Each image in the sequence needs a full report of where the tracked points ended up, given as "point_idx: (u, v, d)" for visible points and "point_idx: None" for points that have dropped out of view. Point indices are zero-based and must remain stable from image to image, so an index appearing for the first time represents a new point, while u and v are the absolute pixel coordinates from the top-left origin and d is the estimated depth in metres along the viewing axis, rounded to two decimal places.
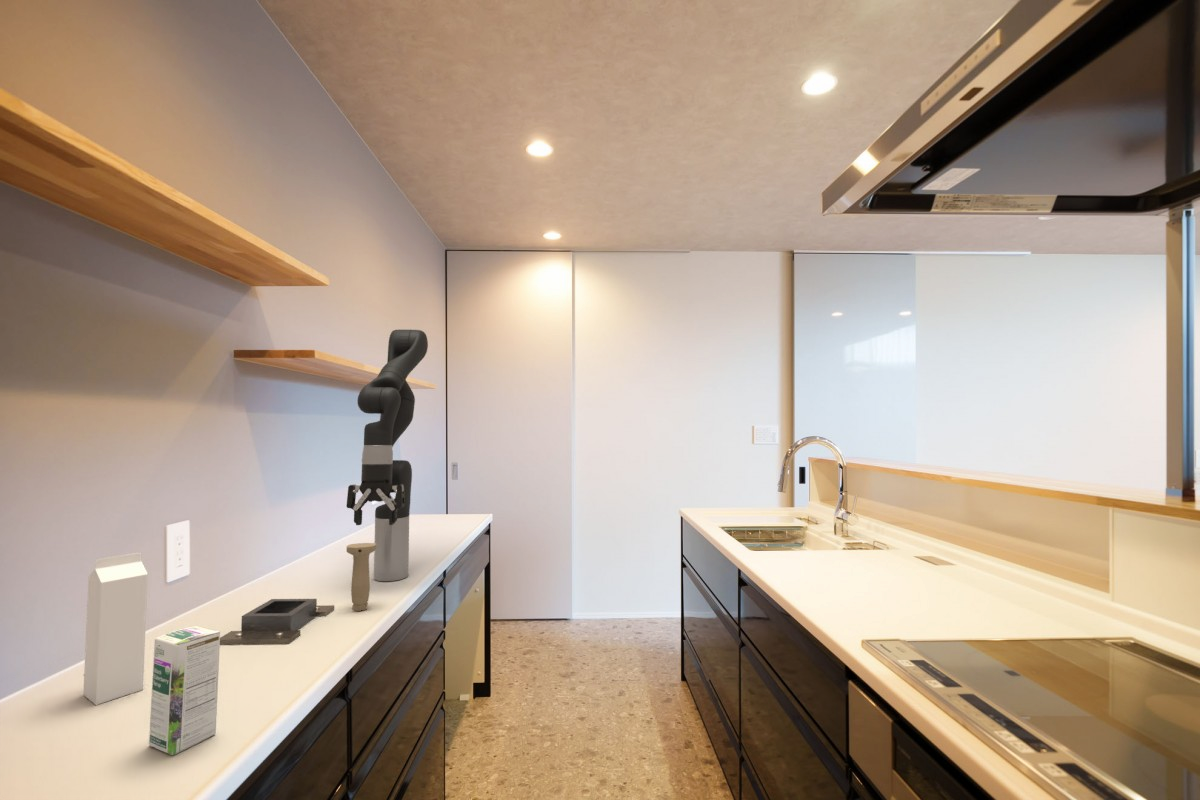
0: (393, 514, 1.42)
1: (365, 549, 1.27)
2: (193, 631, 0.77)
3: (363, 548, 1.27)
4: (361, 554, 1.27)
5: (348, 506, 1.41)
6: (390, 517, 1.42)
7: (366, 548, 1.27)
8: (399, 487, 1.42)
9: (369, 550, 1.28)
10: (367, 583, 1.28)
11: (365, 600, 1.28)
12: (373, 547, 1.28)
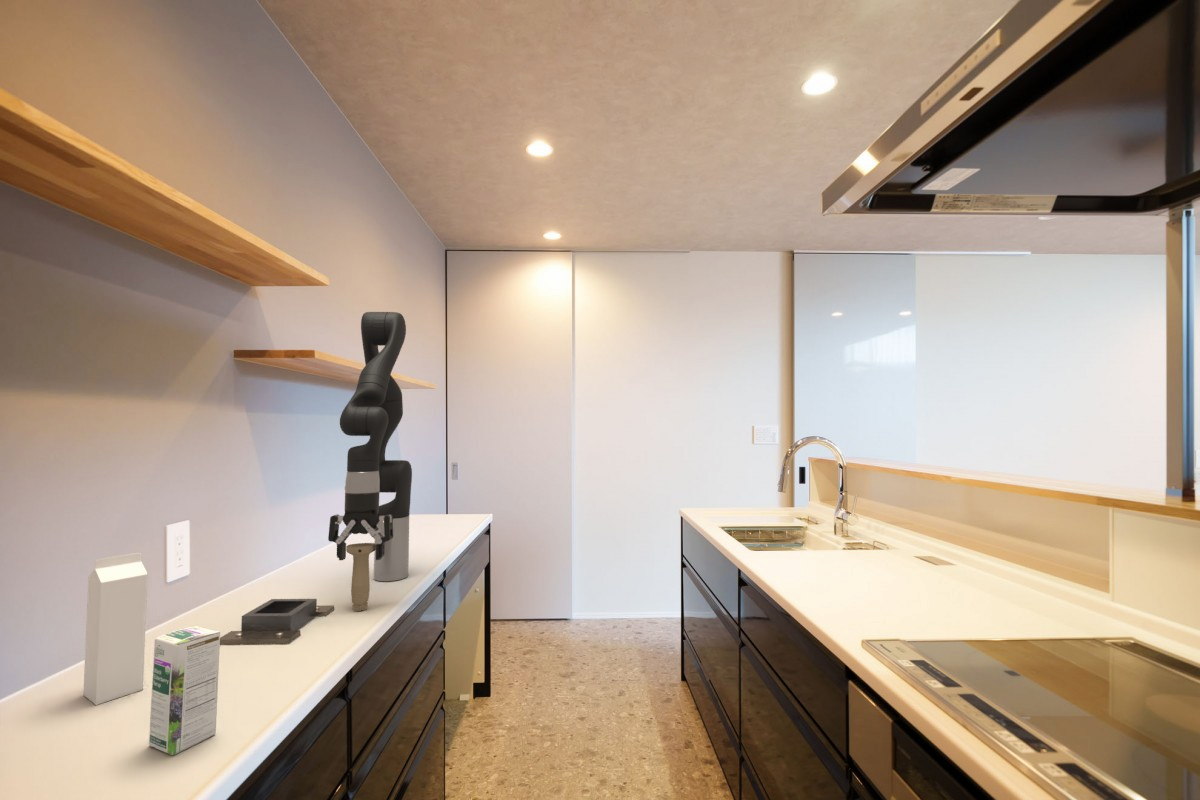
0: (380, 548, 1.28)
1: (365, 549, 1.27)
2: (193, 631, 0.77)
3: (363, 548, 1.27)
4: (361, 554, 1.27)
5: (330, 539, 1.27)
6: (377, 551, 1.28)
7: (366, 548, 1.27)
8: (386, 518, 1.28)
9: (369, 550, 1.28)
10: (367, 583, 1.28)
11: (365, 600, 1.28)
12: (373, 547, 1.28)
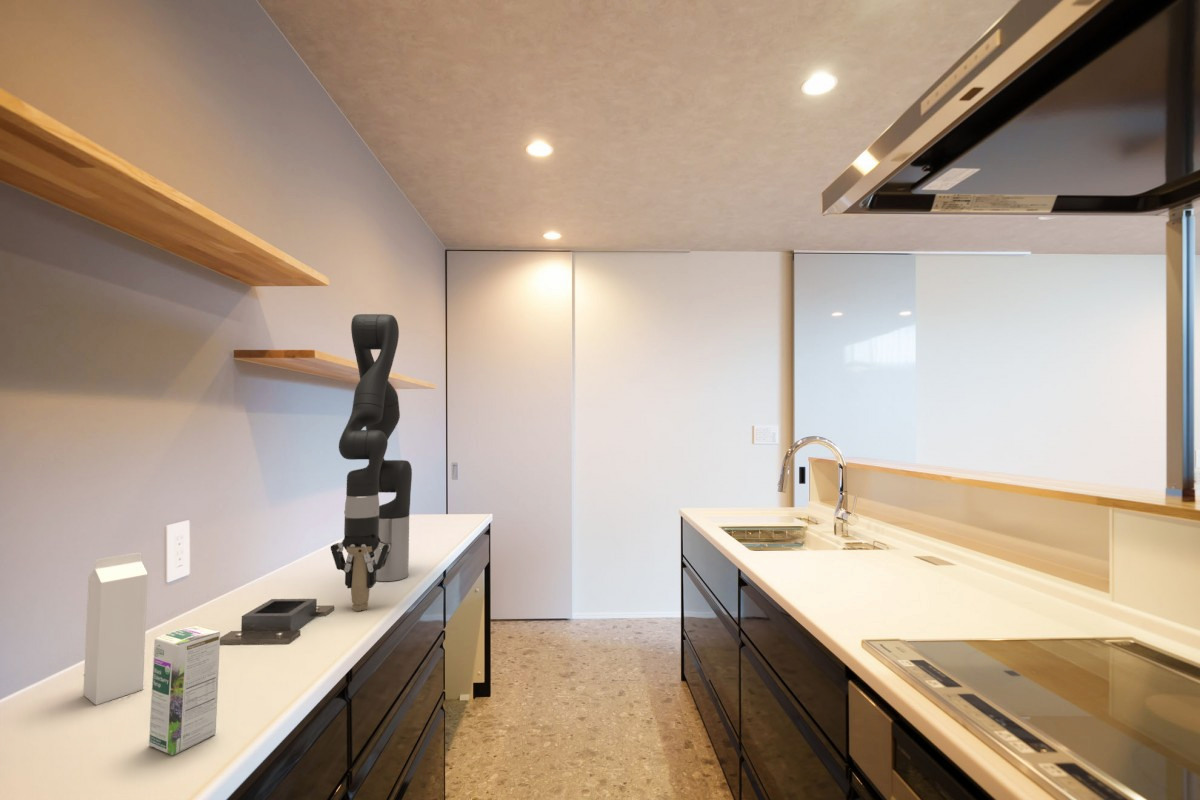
0: (372, 576, 1.28)
1: (365, 549, 1.27)
2: (193, 631, 0.77)
3: (363, 548, 1.27)
4: (361, 554, 1.27)
5: (339, 568, 1.27)
6: (368, 580, 1.28)
7: None
8: (385, 547, 1.28)
9: (369, 550, 1.28)
10: None
11: (365, 600, 1.28)
12: None
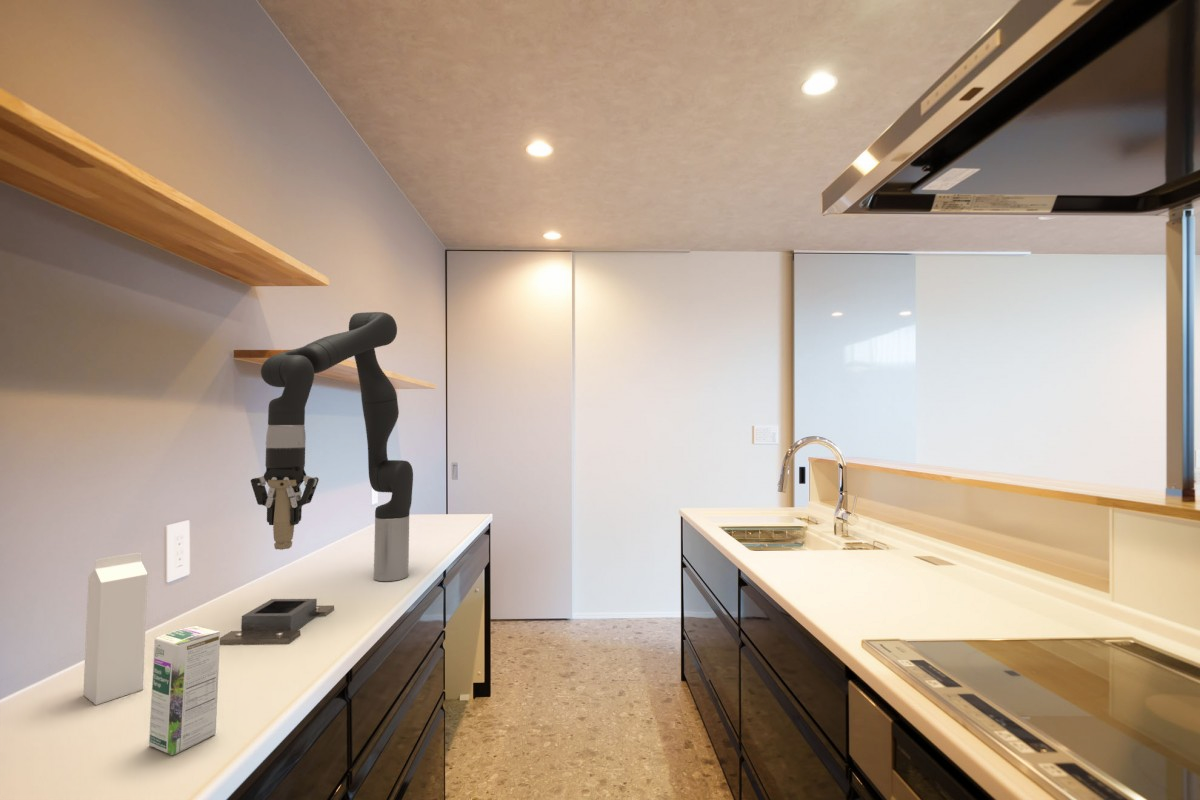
0: (296, 512, 1.18)
1: (288, 482, 1.17)
2: (193, 631, 0.77)
3: (285, 481, 1.17)
4: (283, 488, 1.17)
5: (259, 503, 1.18)
6: (292, 516, 1.18)
7: None
8: (310, 481, 1.18)
9: (292, 484, 1.18)
10: None
11: (288, 538, 1.18)
12: None
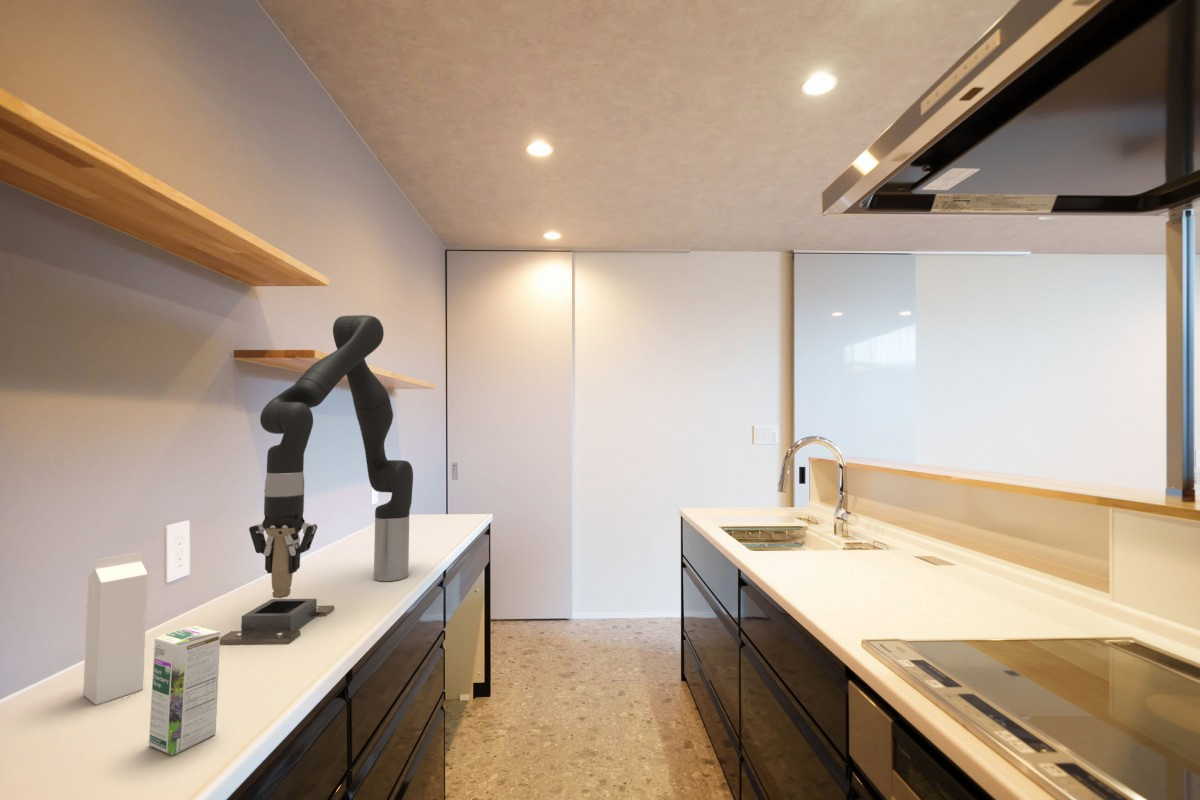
0: (294, 560, 1.18)
1: (286, 531, 1.17)
2: (193, 631, 0.77)
3: (284, 529, 1.17)
4: (282, 536, 1.17)
5: (258, 551, 1.17)
6: (290, 564, 1.18)
7: (287, 530, 1.17)
8: (309, 529, 1.18)
9: (291, 532, 1.17)
10: None
11: (286, 586, 1.17)
12: None
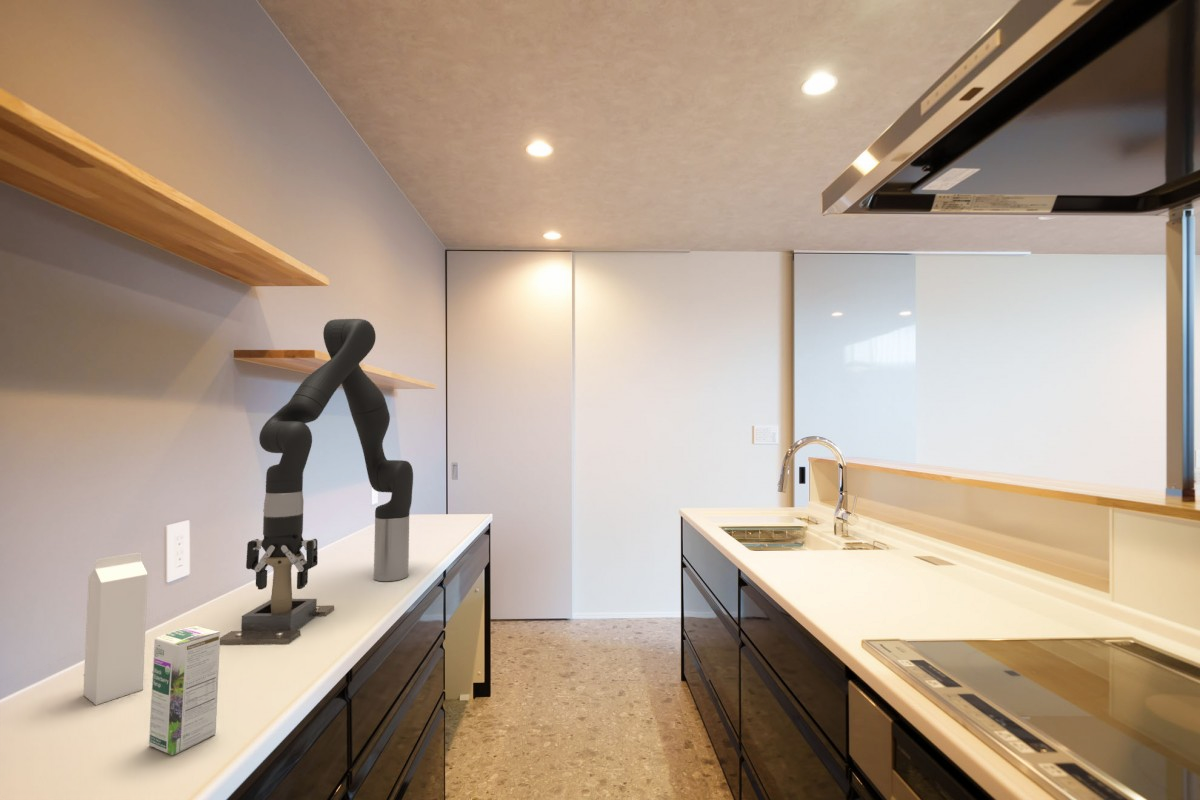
0: (302, 576, 1.18)
1: (286, 560, 1.17)
2: (193, 631, 0.77)
3: (283, 559, 1.16)
4: (281, 565, 1.17)
5: (248, 567, 1.17)
6: (298, 580, 1.17)
7: (287, 559, 1.17)
8: (309, 544, 1.18)
9: None
10: (289, 597, 1.18)
11: None
12: None
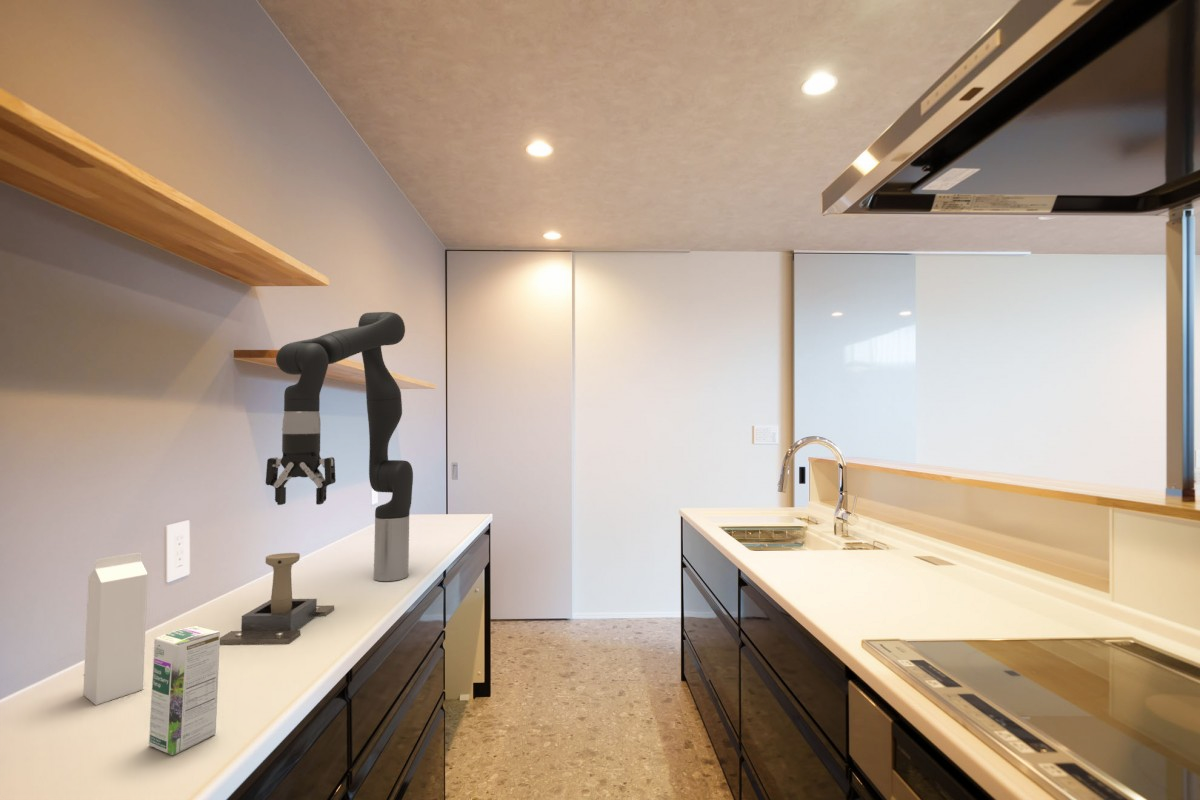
0: (321, 492, 1.22)
1: (286, 560, 1.17)
2: (193, 631, 0.77)
3: (283, 559, 1.16)
4: (281, 565, 1.17)
5: (267, 483, 1.21)
6: (317, 495, 1.21)
7: (287, 559, 1.17)
8: (327, 460, 1.21)
9: (290, 561, 1.17)
10: (289, 597, 1.18)
11: None
12: (294, 558, 1.18)
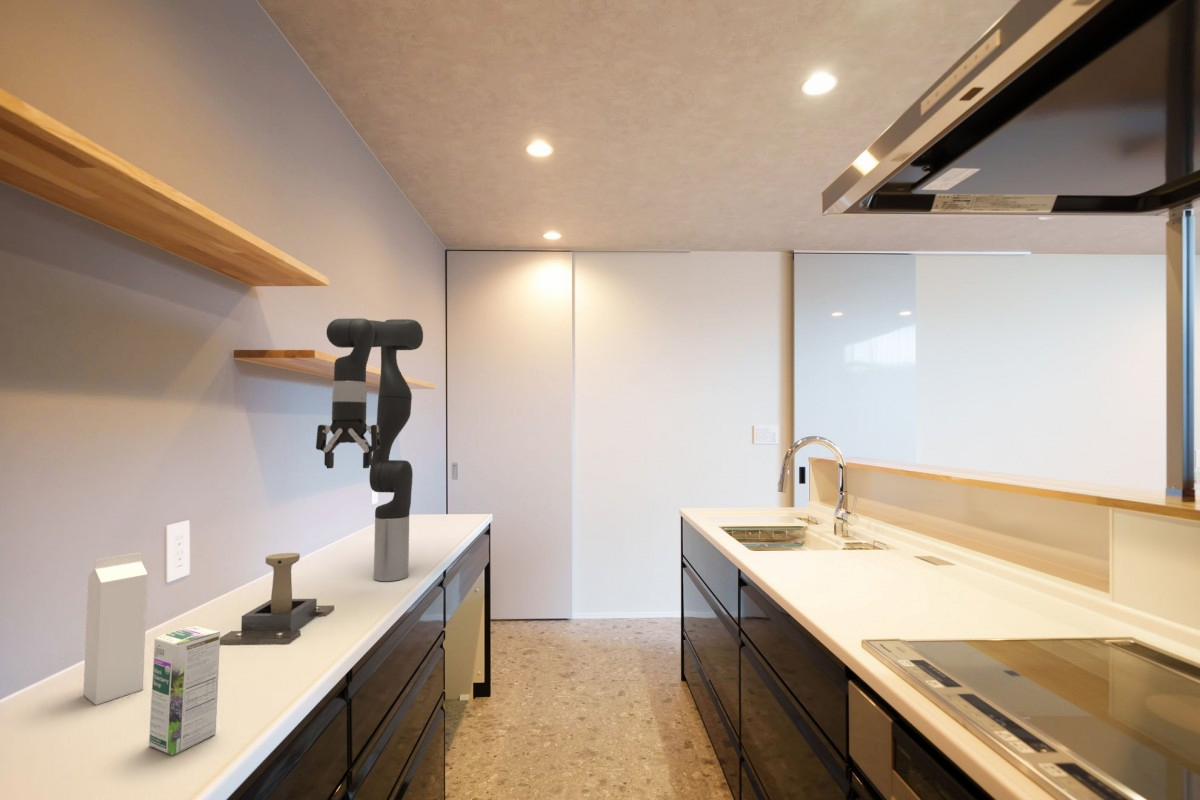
0: (367, 456, 1.30)
1: (286, 560, 1.17)
2: (193, 631, 0.77)
3: (283, 559, 1.16)
4: (281, 565, 1.17)
5: (318, 447, 1.29)
6: (364, 460, 1.30)
7: (287, 559, 1.17)
8: (373, 427, 1.30)
9: (290, 561, 1.17)
10: (289, 597, 1.18)
11: None
12: (294, 558, 1.18)
